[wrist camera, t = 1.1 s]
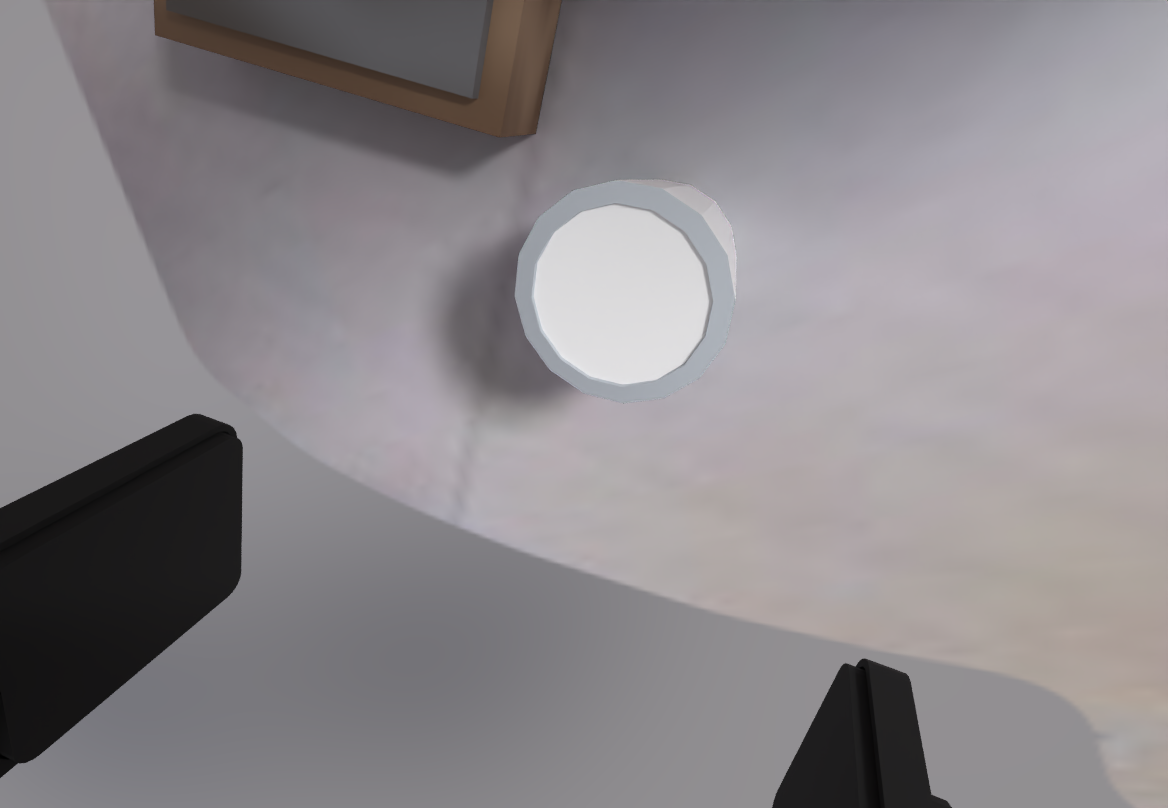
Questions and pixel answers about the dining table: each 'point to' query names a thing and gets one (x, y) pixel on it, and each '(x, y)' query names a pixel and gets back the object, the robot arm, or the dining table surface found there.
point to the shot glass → (628, 287)
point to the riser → (391, 50)
